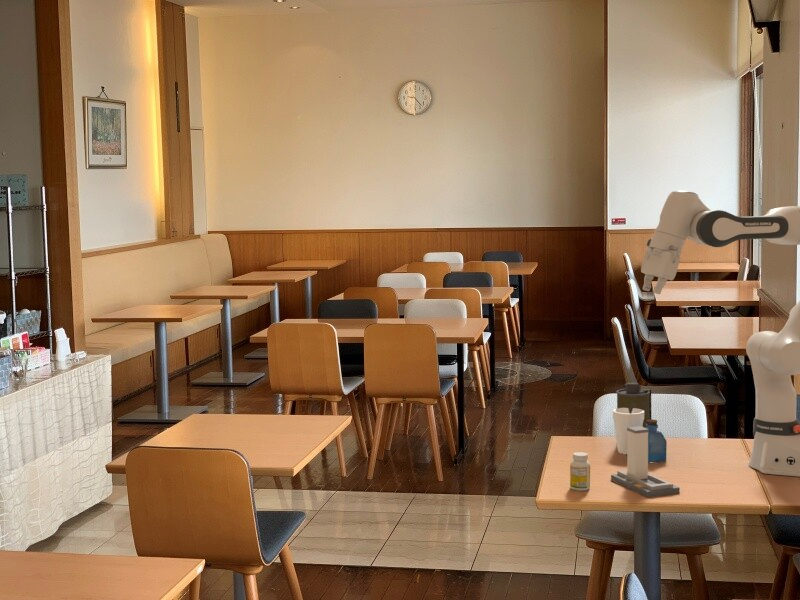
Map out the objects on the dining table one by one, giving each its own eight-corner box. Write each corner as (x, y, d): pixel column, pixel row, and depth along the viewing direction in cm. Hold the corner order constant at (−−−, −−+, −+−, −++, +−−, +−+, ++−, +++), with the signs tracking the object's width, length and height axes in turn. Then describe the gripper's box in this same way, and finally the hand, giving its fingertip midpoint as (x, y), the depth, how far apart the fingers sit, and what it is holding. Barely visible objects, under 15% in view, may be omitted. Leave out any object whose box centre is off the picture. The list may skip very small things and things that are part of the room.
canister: (624, 450, 322) (623, 387, 320) (611, 442, 333) (611, 381, 330) (657, 447, 324) (656, 385, 322) (643, 440, 334) (643, 379, 332)
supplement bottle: (582, 492, 278) (582, 457, 277) (566, 488, 282) (566, 454, 281) (594, 488, 282) (594, 453, 281) (578, 484, 286) (578, 450, 285)
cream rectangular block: (626, 476, 287) (627, 427, 286) (639, 474, 289) (640, 426, 287) (635, 480, 283) (635, 430, 282) (648, 478, 285) (648, 429, 283)
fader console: (611, 479, 290) (611, 471, 289) (641, 476, 293) (641, 467, 293) (647, 497, 273) (647, 488, 273) (679, 493, 276) (679, 483, 276)
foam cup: (641, 456, 314) (642, 414, 313) (611, 454, 317) (611, 413, 316) (645, 449, 323) (645, 408, 322) (615, 447, 326) (615, 406, 325)
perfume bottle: (654, 456, 315) (655, 417, 314) (666, 461, 309) (666, 421, 308) (637, 458, 313) (637, 419, 312) (648, 463, 307) (648, 423, 306)
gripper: (690, 250, 281) (673, 298, 282) (665, 247, 302) (650, 292, 303) (668, 243, 281) (652, 292, 282) (645, 240, 301) (630, 285, 302)
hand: (650, 292), depth 292 cm, fingers open, 8 cm apart
